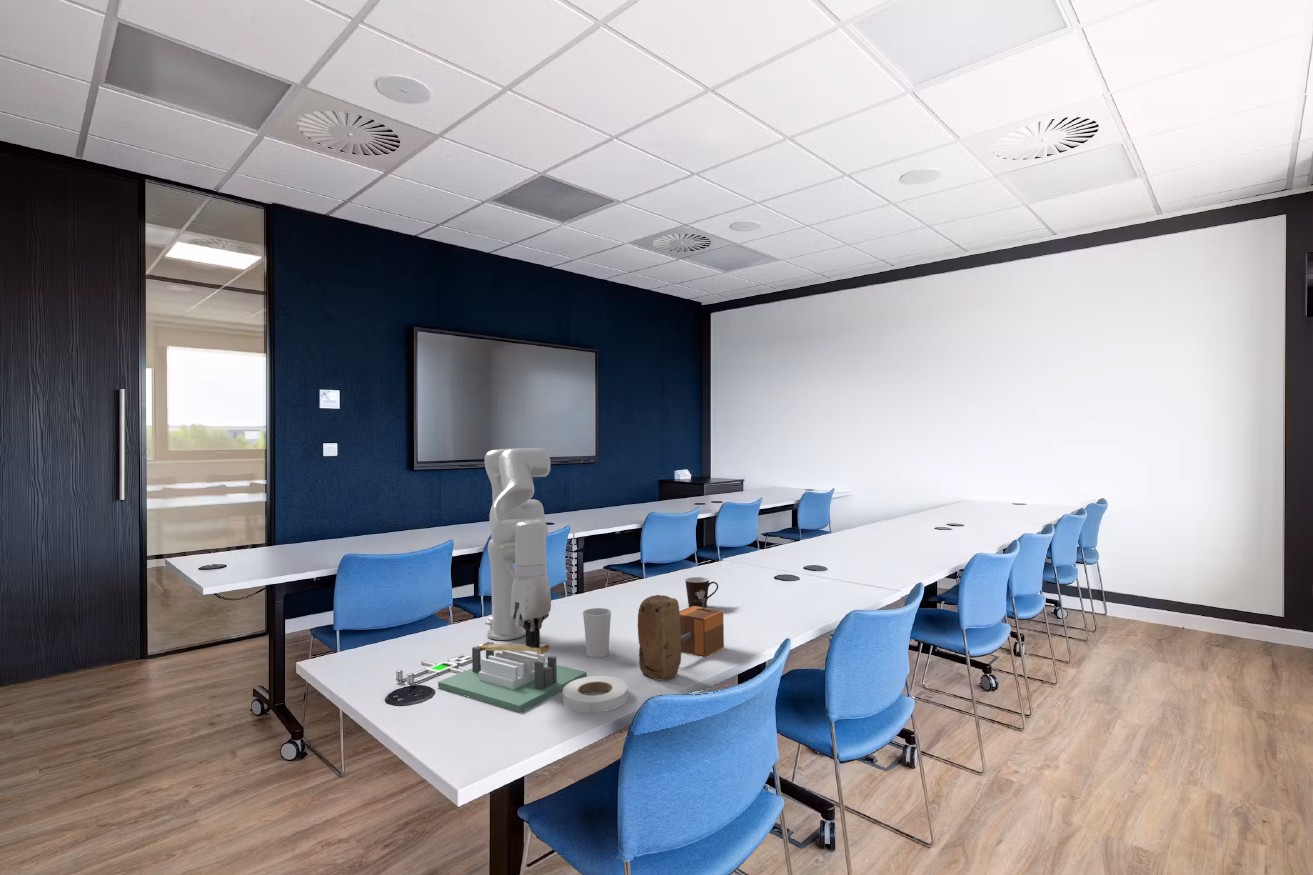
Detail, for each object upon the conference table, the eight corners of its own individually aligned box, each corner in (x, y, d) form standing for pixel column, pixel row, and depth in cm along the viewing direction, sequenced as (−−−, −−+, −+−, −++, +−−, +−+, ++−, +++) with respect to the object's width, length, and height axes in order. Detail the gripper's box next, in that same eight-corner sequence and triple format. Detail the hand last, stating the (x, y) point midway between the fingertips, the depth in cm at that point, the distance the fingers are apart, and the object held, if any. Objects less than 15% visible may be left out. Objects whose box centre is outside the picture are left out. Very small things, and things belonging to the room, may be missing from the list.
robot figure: (424, 692, 157) (490, 664, 176) (424, 678, 157) (490, 652, 176) (382, 680, 166) (449, 654, 185) (382, 667, 166) (449, 643, 185)
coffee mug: (684, 610, 227) (683, 582, 227) (687, 603, 235) (686, 576, 235) (717, 611, 225) (716, 582, 225) (718, 604, 233) (718, 577, 233)
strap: (477, 653, 166) (476, 645, 167) (485, 650, 169) (485, 642, 169) (540, 654, 154) (539, 646, 154) (549, 650, 157) (548, 642, 157)
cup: (607, 659, 177) (606, 616, 177) (580, 657, 179) (579, 614, 179) (614, 649, 185) (614, 608, 185) (588, 648, 187) (587, 607, 187)
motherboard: (438, 687, 159) (437, 656, 159) (509, 658, 179) (508, 631, 179) (519, 712, 144) (518, 678, 144) (586, 677, 164) (586, 647, 164)
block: (684, 675, 164) (683, 598, 164) (664, 684, 158) (662, 604, 159) (654, 666, 171) (652, 591, 171) (634, 673, 166) (632, 597, 166)
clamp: (654, 661, 176) (653, 609, 176) (693, 641, 192) (692, 594, 192) (686, 668, 169) (685, 614, 169) (724, 648, 185) (723, 598, 185)
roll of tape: (594, 719, 140) (594, 706, 140) (549, 701, 150) (549, 689, 150) (641, 697, 152) (641, 685, 152) (596, 682, 162) (596, 670, 162)
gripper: (540, 565, 166) (542, 636, 165) (497, 575, 153) (499, 652, 153) (562, 567, 162) (564, 640, 161) (520, 577, 149) (522, 656, 149)
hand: (532, 645), depth 157 cm, fingers closed
